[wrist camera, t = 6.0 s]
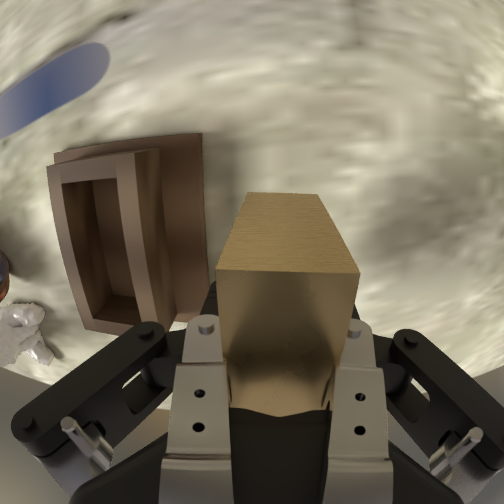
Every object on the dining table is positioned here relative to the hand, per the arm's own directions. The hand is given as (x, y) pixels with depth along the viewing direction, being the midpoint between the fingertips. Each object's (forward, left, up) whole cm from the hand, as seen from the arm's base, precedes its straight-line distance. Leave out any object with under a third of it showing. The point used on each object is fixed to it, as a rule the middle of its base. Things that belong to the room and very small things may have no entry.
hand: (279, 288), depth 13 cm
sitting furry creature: (+12, -30, -8) cm, 33 cm away
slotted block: (0, -11, -7) cm, 13 cm away
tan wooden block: (0, 0, -1) cm, 1 cm away
